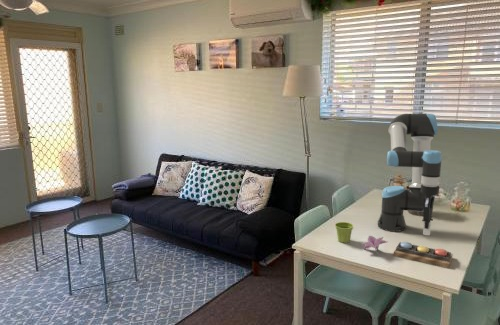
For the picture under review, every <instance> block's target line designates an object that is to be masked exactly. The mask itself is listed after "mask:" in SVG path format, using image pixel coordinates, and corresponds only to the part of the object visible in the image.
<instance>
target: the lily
mask: <svg viewBox="0 0 500 325" xmlns="http://www.w3.org/2000/svg"><path fill="white" fill-rule="evenodd" d="M386 243H388V241H387V240H384V236H382V237H377V238H376V237H375V236H373V235H368V236H367V241H364V242H362V243H361V245H364V246H363V250H365V249H369V248H373V249H375V250H374V251H375V255H376V256H378V251H377V250H379V246H380V245H382V244H386Z"/></svg>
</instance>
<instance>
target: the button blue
mask: <svg viewBox="0 0 500 325" xmlns="http://www.w3.org/2000/svg"><path fill="white" fill-rule="evenodd" d="M400 242H401V241H400ZM412 245H413V244H412V243H411V242H408V241H402V242H401V248H404V249H411V248H412Z"/></svg>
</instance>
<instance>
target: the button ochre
mask: <svg viewBox="0 0 500 325" xmlns="http://www.w3.org/2000/svg"><path fill="white" fill-rule="evenodd" d="M417 246H418V247H417V251H419V252H423V253H429V248H430V247H428V246H424V245H417Z"/></svg>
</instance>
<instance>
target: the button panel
mask: <svg viewBox="0 0 500 325" xmlns="http://www.w3.org/2000/svg"><path fill="white" fill-rule="evenodd" d="M418 246H419V245H415V244H412V248H411V249H404V248H401V241H400V242H399V243H398V244H397V245H396V248H395V249H394V251H393V257H397V258H401V259H406V260H409V261H414V262H415V261H416V262H419V263H424V264H429V265H432V266H437V267H442V268H447V269H450V266H451V263H452V260H453V254H454V253H452V252H451V251H447V256H445V257H443V256H438V255H436V254H435V249H436V248H432V247H428V248H429V253H423V252H419V251H417V247H418Z"/></svg>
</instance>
